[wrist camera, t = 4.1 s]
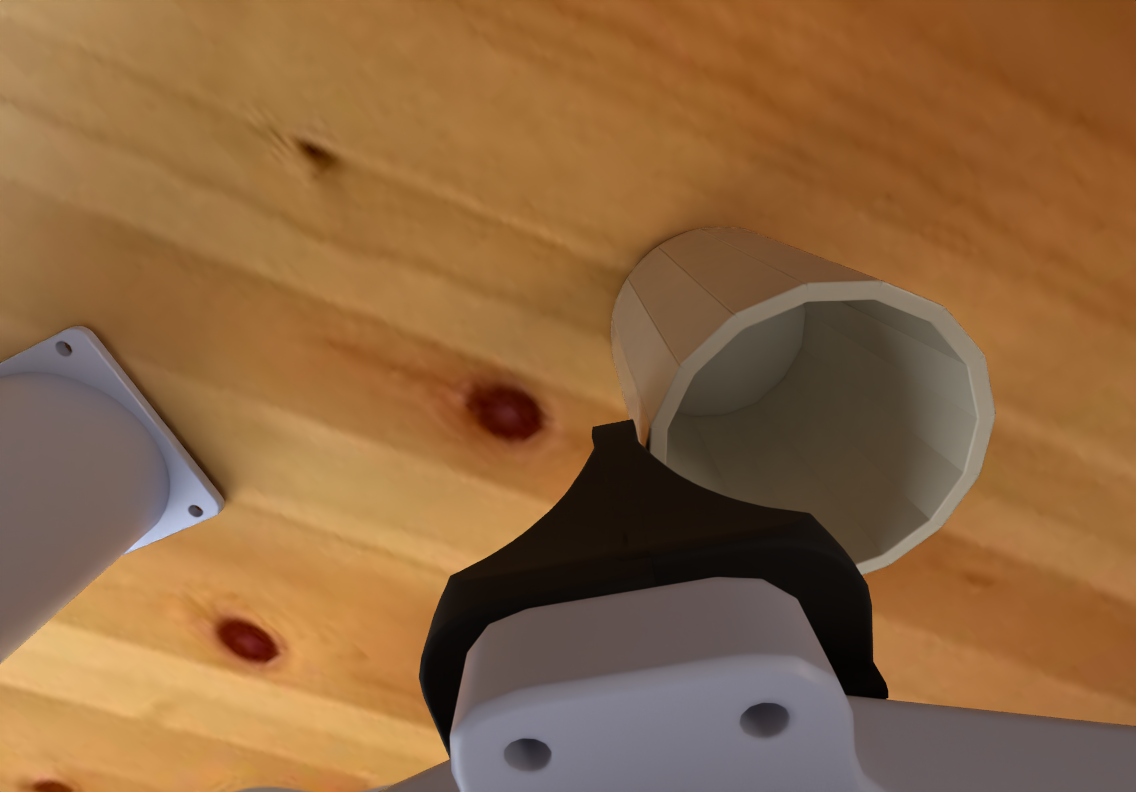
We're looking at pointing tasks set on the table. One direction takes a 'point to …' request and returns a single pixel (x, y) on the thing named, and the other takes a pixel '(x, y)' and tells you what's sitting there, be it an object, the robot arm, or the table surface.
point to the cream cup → (803, 387)
